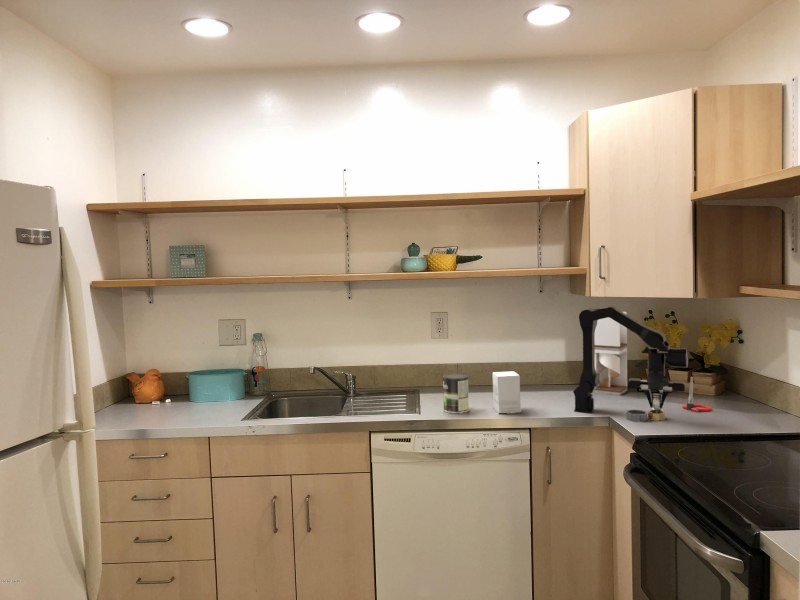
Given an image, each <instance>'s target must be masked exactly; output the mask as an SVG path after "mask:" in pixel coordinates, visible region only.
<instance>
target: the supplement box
mask: <svg viewBox="0 0 800 600" xmlns="http://www.w3.org/2000/svg"><path fill="white" fill-rule="evenodd" d="M520 379H521V377H520V375H519V374H518V373H517V372H515V371H514V370H513V371H511V370H510V371H495V372H494V371H493V372H492V394H493V395H492V396H493V397H492V398H493V399H492V400H493V409H494V411H496V413H507V414H512V413H511V412H521V413H522V410H521V380H520Z"/></svg>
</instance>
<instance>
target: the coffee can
mask: <svg viewBox="0 0 800 600" xmlns="http://www.w3.org/2000/svg"><path fill="white" fill-rule="evenodd" d="M442 386H443V387H442V388H443V390H442V392H443V393H442V394H443V396H442V397H443V412H445V413H447V412H448V414H453V413H459V414H464V413H463V412H465V413H467V411H468V410H469V409H470V408H469V407H470V405H469V404H470V403H469V401H470V400H469V398H470V397H469V375H468V374H465V373H462V372H461V373H460V372H459V373H456V372H454V373H445V374H443V375H442ZM469 411H470V410H469ZM469 411H468V412H469Z"/></svg>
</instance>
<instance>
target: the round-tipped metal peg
mask: <svg viewBox="0 0 800 600" xmlns="http://www.w3.org/2000/svg"><path fill="white" fill-rule="evenodd" d="M651 399H652V408H651V410H652V413H661V411H662V409H661V399H662V393H651Z"/></svg>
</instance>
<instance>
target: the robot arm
mask: <svg viewBox="0 0 800 600" xmlns="http://www.w3.org/2000/svg"><path fill="white" fill-rule="evenodd" d="M623 312H624V311H621V310H620V309H618V308H617V307H616V306H614V305H611V306H607V307H603V308H599V309H594V308H587V309H583V310H581V311H580V312H579V315H578V321H579V326H580V328H581V331H582V370H581V373H580V377H579V383H578V387H576V388H575V389H574V390H573V391H572V393H573V394H574V409H573V410H574V411H573V412H577V411H578V412H579V413H580V412H581V413H589V414H590V413H593V411H594V410H595V398H594V397H593V395H594V394H593V393H594V392H593V390H595V389H596V388H597V387H598V384H599V383H600V380H599V377H600V373H596V370H595V335H594V333H595V329H596V326H597V321H598V320H599V319H603V318H608V317H609V318H611V319H613V320H614V321H616V322H618V323H619V324H621V325H623V326H624V327H626V328H627V330H629V331H631V332H632V333H634V334H636V335H637V336H638V337H639V338H640V339H641V340H642V341H643V342H644V343H645V344H646V345H647V346H646V347H645V348H644V349H643V350H642V351H641V353H642V354H647V377H646V380H641V378H637V377H630V378H629V379H628V380H627V389H636V390H638V389H639V388H640V392H644V394H645V397H646V398H647V401H648V404H649V407H650V408H651V409H652V391H651V390H658V391H662V393H661V410H662V409H663V406H664V404H665V400H666V399H667V396H668V395H669V394H672V392H673V391H674V392H681V393H683V392H686V390H685V389H686V383H685V381H684V380H675V379H674V380H672V382H670V376H668V375H666V368H665V367H666V364H667V365H668V366H669V367H671V368H672V367H673V368H686V369H687V368H688V366H689V356H688V348H686V347H685V348H684V347H683V348H676V347H675V348H673V347H672V346H671V344H670V343H669V342H668V341H667V337H666V335H665V333H664V332H663V331H661V330H659V329H655V328H653V327H650V326H647V325H644V324H643V323H641V322H639V321H638V320H636V319H634V318H633V317H631V316H629V315H628V314H627V315H626V314H624V313H623Z"/></svg>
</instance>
